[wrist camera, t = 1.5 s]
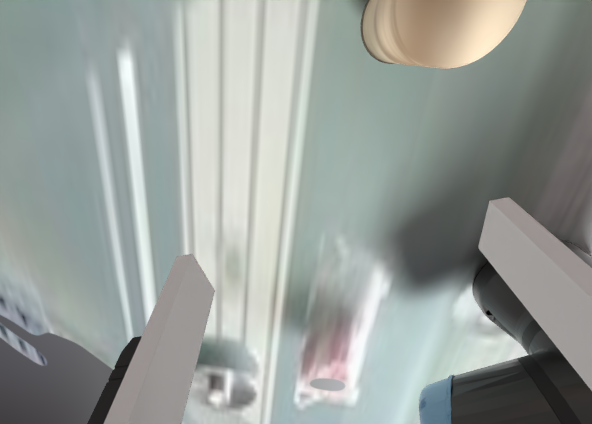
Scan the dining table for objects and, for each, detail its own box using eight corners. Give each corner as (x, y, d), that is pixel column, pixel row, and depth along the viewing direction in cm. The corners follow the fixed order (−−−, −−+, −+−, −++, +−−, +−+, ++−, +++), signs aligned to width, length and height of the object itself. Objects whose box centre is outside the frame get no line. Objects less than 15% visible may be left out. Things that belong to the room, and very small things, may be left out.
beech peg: (429, -7, 26) (564, -79, 12) (406, 67, 29) (492, 79, 15) (364, -19, 26) (423, -107, 12) (348, 56, 29) (379, 58, 15)
